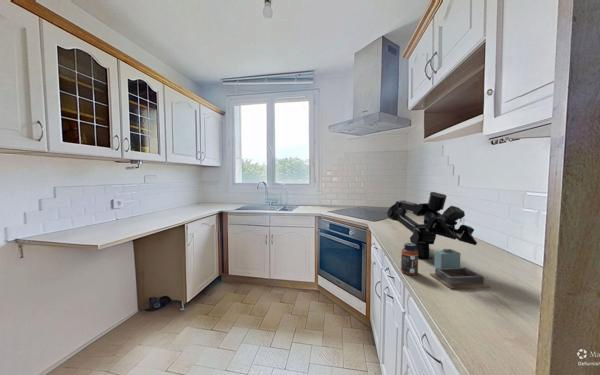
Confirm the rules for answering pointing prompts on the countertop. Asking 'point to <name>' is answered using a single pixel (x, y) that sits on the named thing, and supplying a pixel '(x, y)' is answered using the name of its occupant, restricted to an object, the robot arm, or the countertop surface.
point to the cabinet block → (447, 259)
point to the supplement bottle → (409, 259)
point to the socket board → (459, 278)
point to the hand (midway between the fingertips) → (466, 241)
